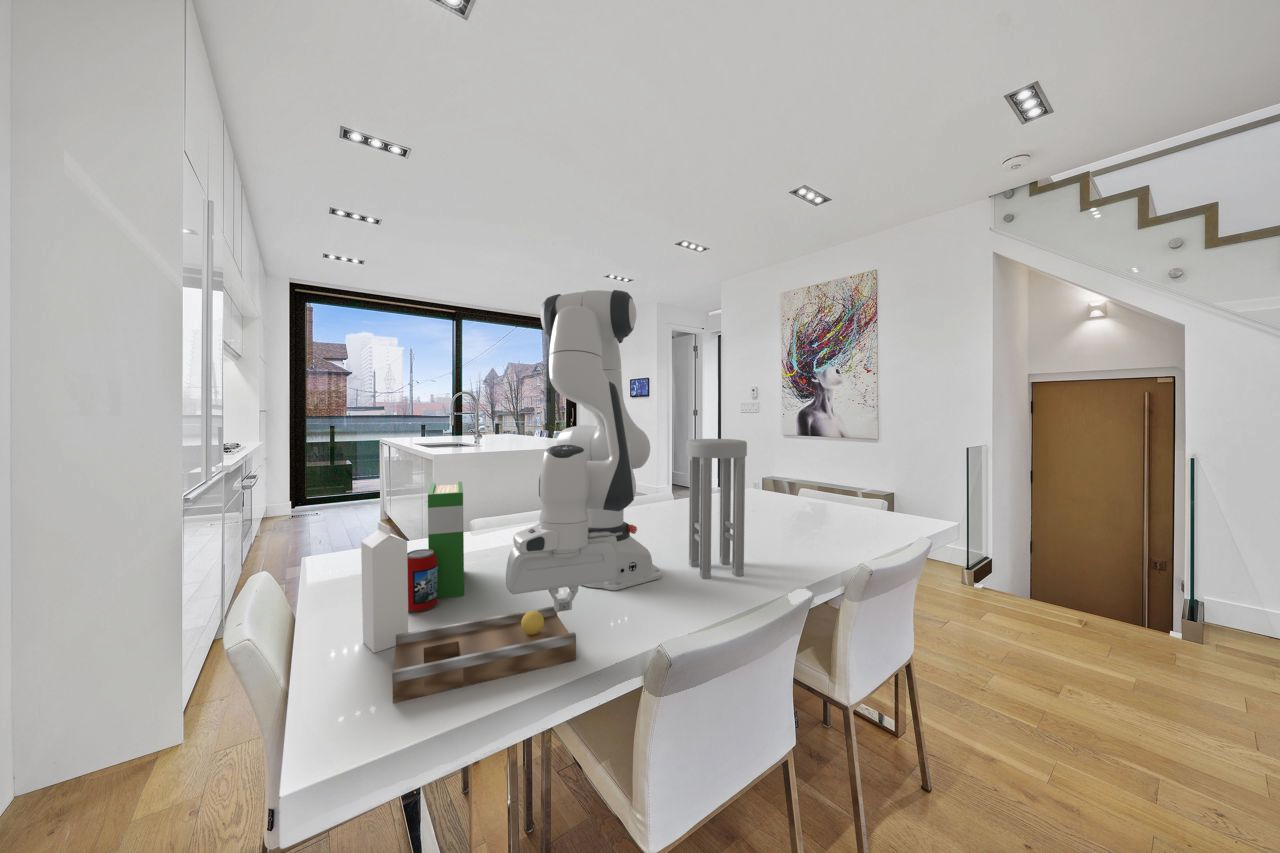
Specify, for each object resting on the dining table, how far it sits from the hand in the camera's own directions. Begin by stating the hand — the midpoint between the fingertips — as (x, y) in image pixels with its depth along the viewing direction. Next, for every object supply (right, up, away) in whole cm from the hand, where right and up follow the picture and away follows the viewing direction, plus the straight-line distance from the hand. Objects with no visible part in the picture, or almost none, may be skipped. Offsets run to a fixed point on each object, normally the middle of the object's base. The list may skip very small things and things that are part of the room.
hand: (562, 610), depth 86 cm
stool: (+34, -5, +41) cm, 54 cm away
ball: (-5, -2, -2) cm, 6 cm away
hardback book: (-33, -6, +30) cm, 45 cm away
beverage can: (-34, -6, +16) cm, 38 cm away
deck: (-12, -7, -5) cm, 15 cm away
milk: (-33, -7, +1) cm, 34 cm away
